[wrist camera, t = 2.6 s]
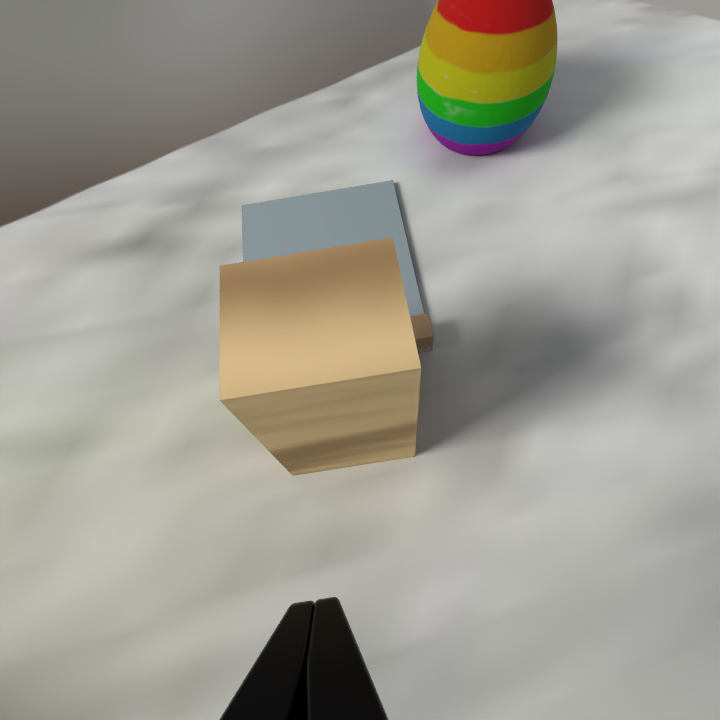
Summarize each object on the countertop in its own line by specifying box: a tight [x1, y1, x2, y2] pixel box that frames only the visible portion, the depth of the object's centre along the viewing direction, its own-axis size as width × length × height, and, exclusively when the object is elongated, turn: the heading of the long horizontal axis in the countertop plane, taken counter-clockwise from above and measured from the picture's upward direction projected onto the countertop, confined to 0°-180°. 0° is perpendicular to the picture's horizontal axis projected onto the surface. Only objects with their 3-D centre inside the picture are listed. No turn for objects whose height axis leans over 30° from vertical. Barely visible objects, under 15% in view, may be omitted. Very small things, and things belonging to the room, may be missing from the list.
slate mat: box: [242, 180, 433, 352], centre depth 27 cm, size 12×10×2 cm
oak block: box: [220, 237, 421, 475], centre depth 19 cm, size 5×6×10 cm
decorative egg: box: [417, 0, 557, 155], centre depth 28 cm, size 8×8×10 cm
